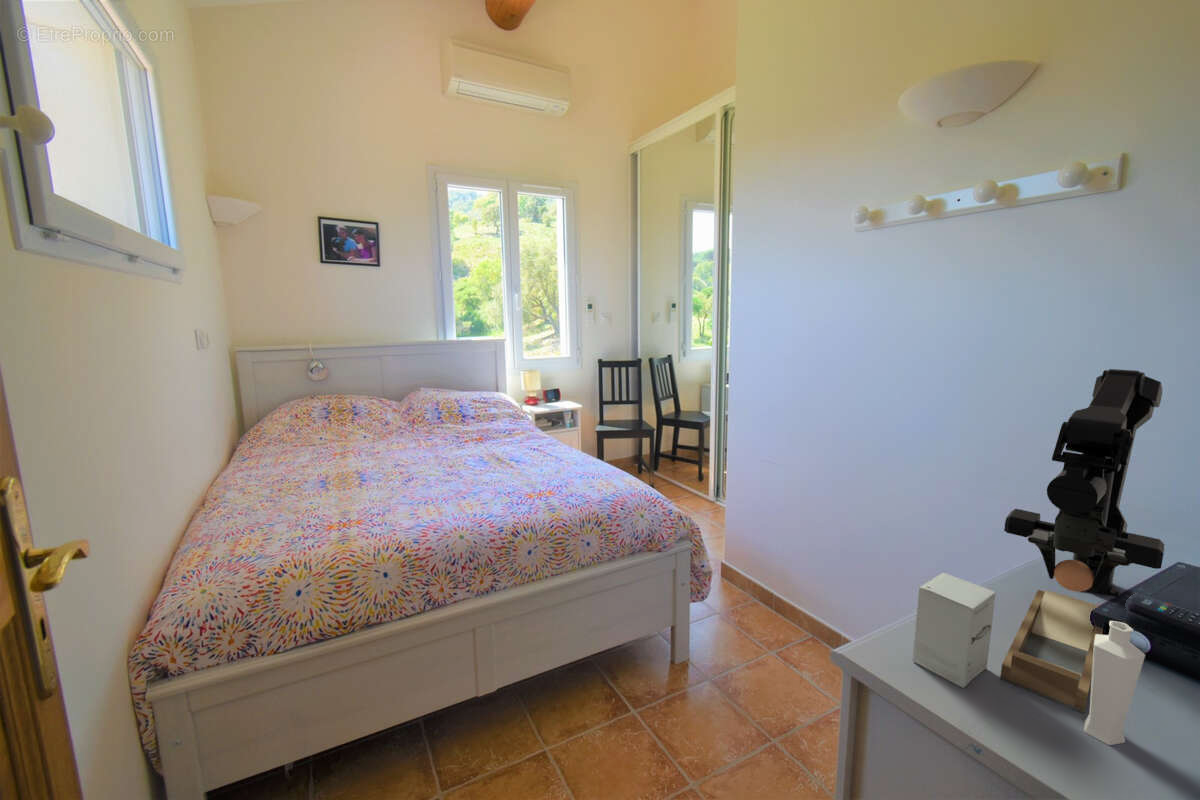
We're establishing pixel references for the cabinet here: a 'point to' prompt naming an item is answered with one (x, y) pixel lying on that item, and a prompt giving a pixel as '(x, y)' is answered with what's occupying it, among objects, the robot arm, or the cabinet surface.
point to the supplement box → (953, 628)
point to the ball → (1074, 575)
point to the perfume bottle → (1112, 683)
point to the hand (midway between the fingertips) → (1072, 583)
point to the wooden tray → (1054, 650)
